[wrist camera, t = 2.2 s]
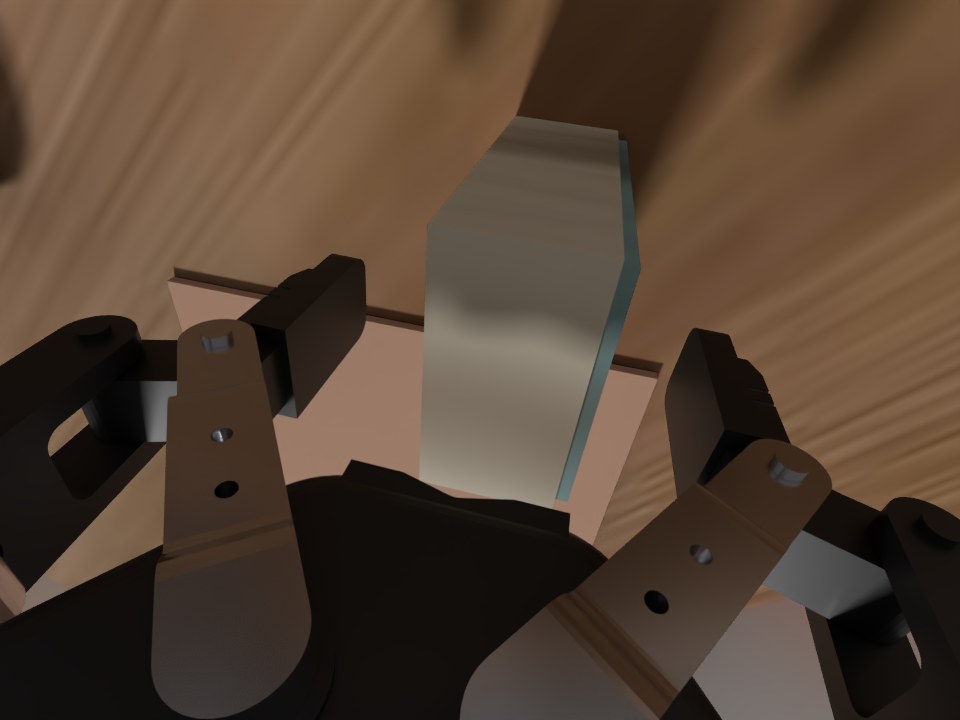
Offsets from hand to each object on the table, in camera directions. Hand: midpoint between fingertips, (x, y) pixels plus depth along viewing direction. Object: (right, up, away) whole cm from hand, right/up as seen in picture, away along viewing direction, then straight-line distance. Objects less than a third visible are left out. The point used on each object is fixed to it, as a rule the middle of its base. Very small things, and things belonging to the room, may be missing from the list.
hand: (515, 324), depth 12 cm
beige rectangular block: (+1, +4, +4) cm, 6 cm away
